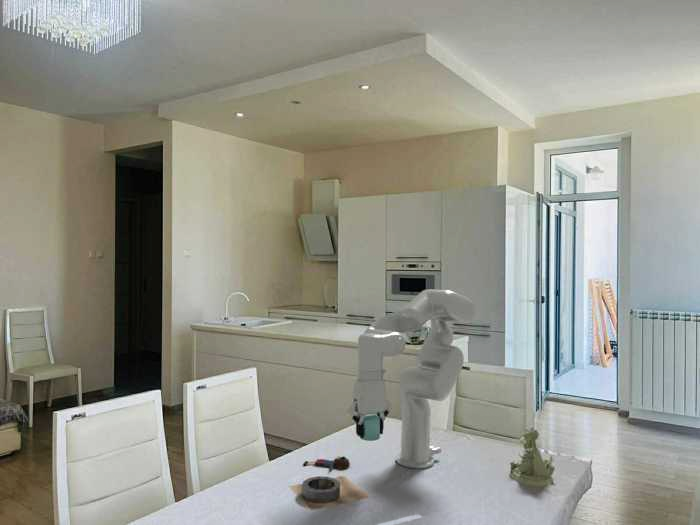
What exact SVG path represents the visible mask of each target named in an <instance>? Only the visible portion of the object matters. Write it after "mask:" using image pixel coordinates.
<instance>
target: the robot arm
mask: <svg viewBox="0 0 700 525" xmlns="http://www.w3.org/2000/svg"><path fill="white" fill-rule="evenodd" d="M476 311H477V310H476V306H475V303H474V302H473V301H472V300H471V299H470V298H469V297H466V296H464V295H462V294H459V293H457V292H455V291H452V290H447V289H431V288H430V289H423V290H422V291H421V292H420V293H418V294H417V295H416V296H415V297H414V298H413V299H412V300H410V302H409V303H408V304H406V305H405V306H404V307H403V308H401V309H399V310H397V311H396V310H395V311H393V312H392V313H389V314H387V315H384V316H382V317H380V318H378V319H376V320H375V321H374V322H373V323H371V324H370V325H369V326H368V327H367V328H366V330H364V333H362V334H360V335H359V336H358V339H357V347H358V348H357V378H356V379H355V380H354V384H353V389H352V399H351V405H350V406H349V408H348V409H347V411H346V415H348V416H349V417H350V418H351V419H352V420H353V422H355V433H356V435H357V436H358V437H359V438H360V437H361V438H363V437H364V424H362V422H363V419H364V416H365V415H369V414H370V415H374V414H375V415H377V416H379V417H380V435H384V430H385V428H384V421H386V417H387V416H388V415H389V413H390V412H391V410H393V405H392V404H391V403H390V402H389V401H388V393H387V387H386V386H387V385H386V381H385V380H386V379H385V378H384V375H385V374H387V370H386V369H384V357H397V356H399V355H401V354H402V353H403V352H404V351H405V348H406V343H407V342H406V339H405V337H404V336H403V334H406V333H411V332H414V331H415V332H416V331H418V330H419V329H421V328H422V327H423V326H424V325H425V324H426V323H427V322H428V321H430V331H429V333H428V335H427V337H426V339H425V340H424V342H423V344H422V346H421V348H420V350H419V352H418V353H417V356H416V363H417V365H418V366H414V365H413V366H408V367H406V368H404V369H403V370H401V373H400V374H399V379H398V380H399V387H400V388H399V390H400V394H401V437H400V438H401V440H400V441H401V442H400V453H399V454H397V455H396V459H395V460H396V462H397V464H398V465H400V466H402V467H405V468H410V469H427V468H431V467H432V466H433V465H434V464H435V458H434V457H433V456H434V455H436V454H441V453H442V448H441V447H440V446H439V447H435V448H434V446H433V445H432V446H431V415H432V414H431V406H430V402H429V400H430V401H431V400H432V401H437V402H441V401H442V402H443V401H445V400H446V399H447V398H448V397H449V396H450V394H451V392H452V390H453V388H454V386H455V384H456V382H457V380H458V378H459V376H460V374H461V372H462V370H463V367H464V362H465V361H464V359H465V358H464V354H463V351H462V350H461V349H460V348H459V347H458V346H455V345H453V344H452V343H453V341H454V334H453V332H452V328H451V327H450V324H449V322H454V323H461V324H462V323H463V324H466V323H470V322H471V321H472V320H473V319H475V316H476ZM354 412H355V413H356V414H355V413H354ZM361 438H360V439H361Z"/></svg>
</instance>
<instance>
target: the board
mask: <svg viewBox="0 0 700 525" xmlns="http://www.w3.org/2000/svg"><path fill="white" fill-rule="evenodd" d="M333 478H334V479H336V480H338V481H339V482H340V498H338V499H337V500H335V501H334V502H329V503H325V504H324V503H312V502H309V501H306V500H305V499H304V498H303V497H302V484H303V483H299V484H294V485H289V488H290V489H291V490H292V491H293V492H294V493H295V494H296V495H297V497H298V498H300V500H301V501H303V502H304V504H305V505H306V506H307V507H308V508H309V509H311V511H312V510H313V511H314V510H318V509H323V508H326V507H330V506H335V505H339V504H344V503H348V502H349V503H350V502H353V501H357V500H361V499H366V498H371V495H369V494H368V493H367V492H366V491H364V490H363V489H362V488H361V487H360V486H359V485H357V484H355V483H354V482H353V481H351V480H350V479H349V478H348V477H347V476H345V475H340V476H337V477H336V476H335V477H333ZM316 490H326V489H316Z"/></svg>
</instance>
